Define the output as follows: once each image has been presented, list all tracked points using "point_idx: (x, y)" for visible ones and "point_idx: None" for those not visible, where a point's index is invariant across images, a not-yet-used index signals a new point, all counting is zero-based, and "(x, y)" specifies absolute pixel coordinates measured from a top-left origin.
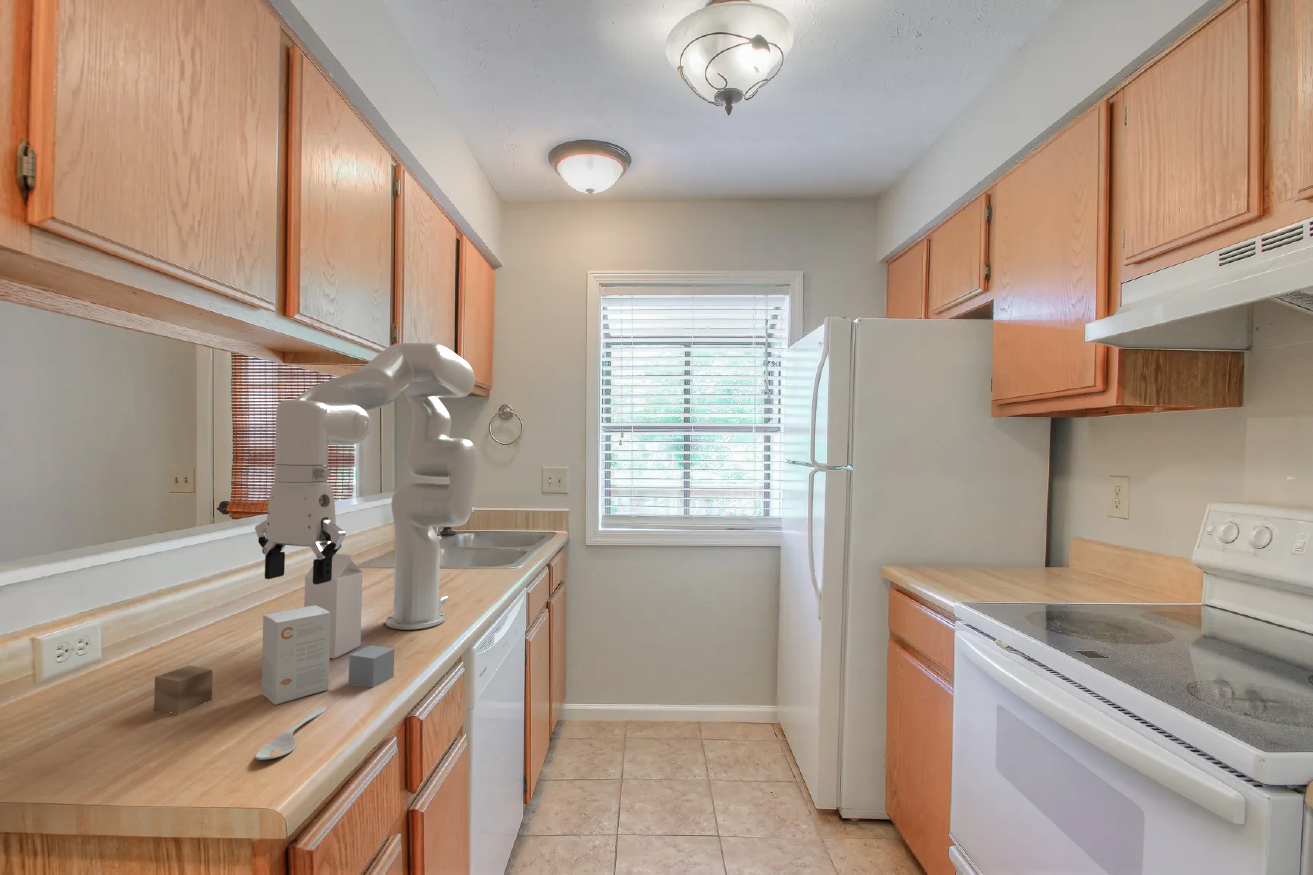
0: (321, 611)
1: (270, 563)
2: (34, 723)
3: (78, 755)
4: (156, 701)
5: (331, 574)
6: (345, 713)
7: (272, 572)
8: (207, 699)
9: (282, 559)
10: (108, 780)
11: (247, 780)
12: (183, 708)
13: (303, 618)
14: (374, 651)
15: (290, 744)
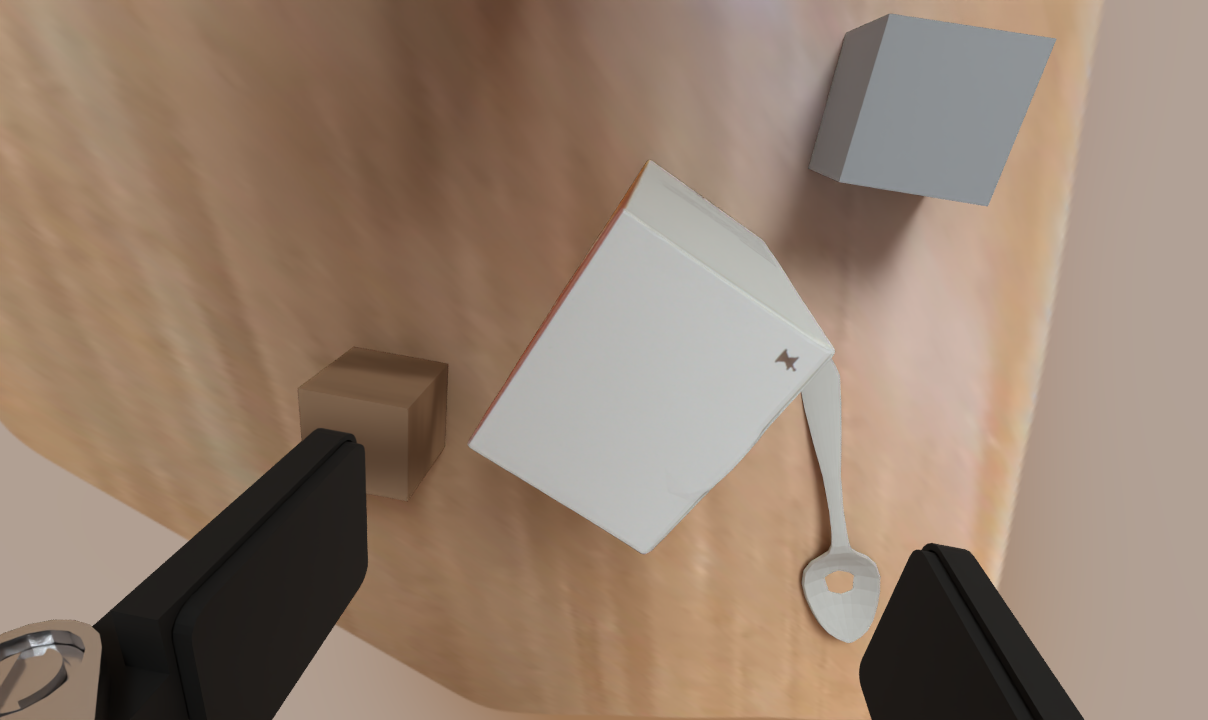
0: (772, 355)
1: (284, 688)
2: (189, 512)
3: (434, 609)
4: None
5: (994, 590)
6: (917, 391)
7: (340, 583)
8: (445, 380)
9: (255, 580)
10: (582, 670)
11: (847, 664)
12: (442, 441)
13: (731, 465)
14: (952, 107)
15: (862, 565)
